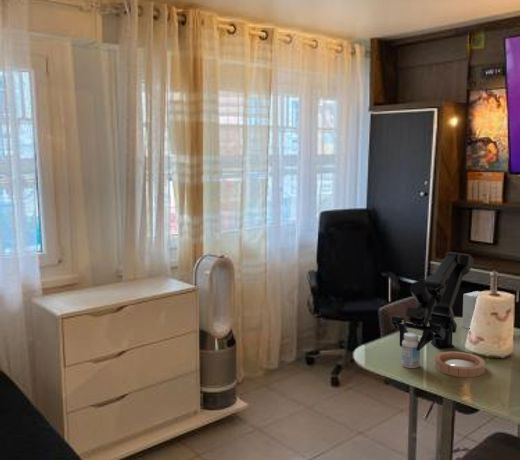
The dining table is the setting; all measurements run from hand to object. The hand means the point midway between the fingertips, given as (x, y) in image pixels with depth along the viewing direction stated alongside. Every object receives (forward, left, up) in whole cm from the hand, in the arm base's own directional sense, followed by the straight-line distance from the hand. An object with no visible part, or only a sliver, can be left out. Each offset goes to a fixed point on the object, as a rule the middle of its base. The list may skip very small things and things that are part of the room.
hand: (408, 348), depth 184 cm
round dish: (-16, +5, -7) cm, 18 cm away
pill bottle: (-1, -1, -7) cm, 7 cm away
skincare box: (-46, -32, -7) cm, 56 cm away
